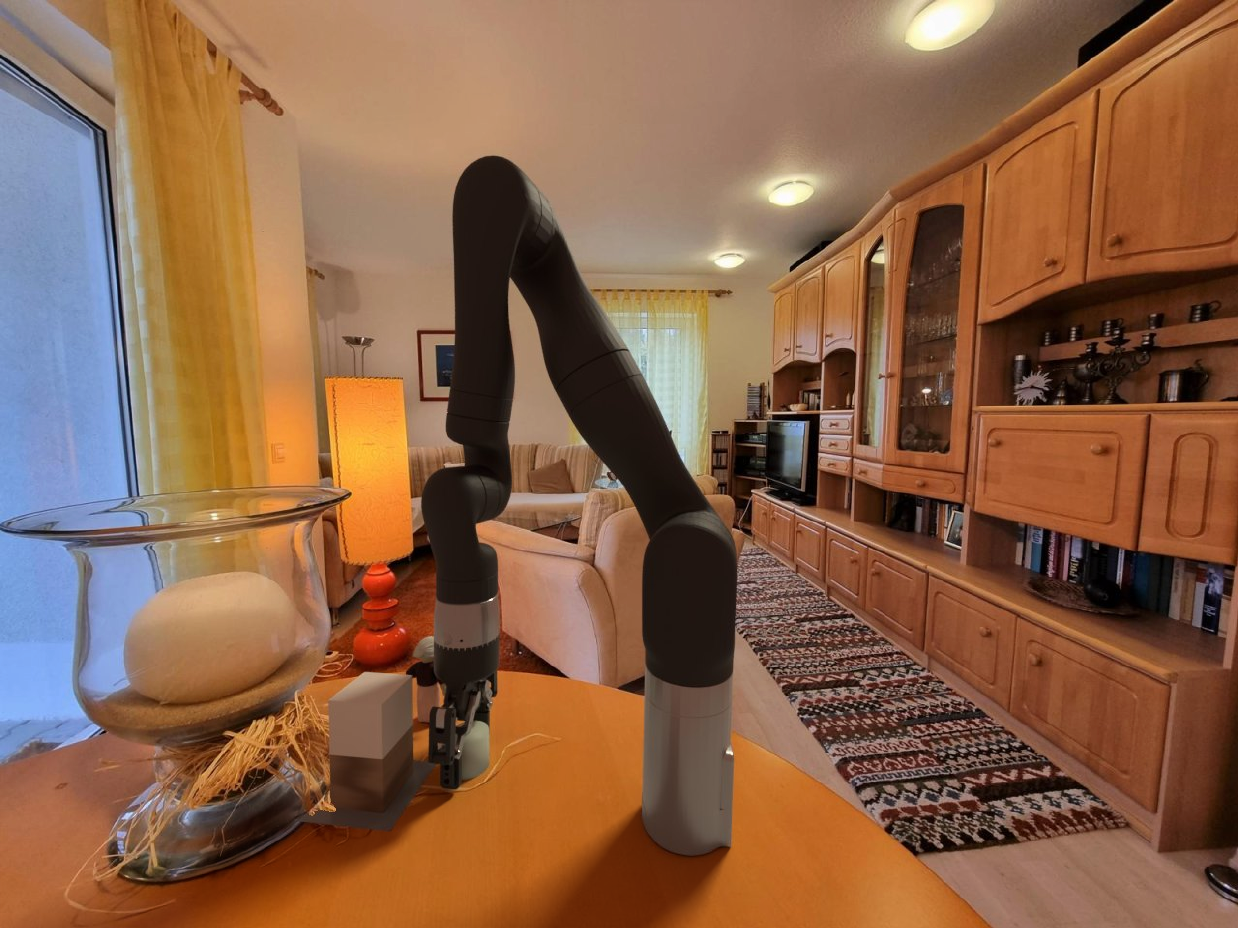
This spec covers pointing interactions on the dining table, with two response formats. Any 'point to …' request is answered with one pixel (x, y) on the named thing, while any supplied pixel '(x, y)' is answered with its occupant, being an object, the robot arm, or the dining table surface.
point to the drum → (475, 751)
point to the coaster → (373, 818)
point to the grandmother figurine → (426, 679)
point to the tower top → (370, 715)
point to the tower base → (371, 777)
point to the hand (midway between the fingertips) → (466, 760)
